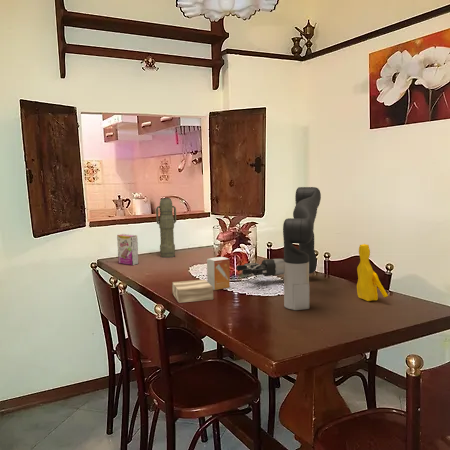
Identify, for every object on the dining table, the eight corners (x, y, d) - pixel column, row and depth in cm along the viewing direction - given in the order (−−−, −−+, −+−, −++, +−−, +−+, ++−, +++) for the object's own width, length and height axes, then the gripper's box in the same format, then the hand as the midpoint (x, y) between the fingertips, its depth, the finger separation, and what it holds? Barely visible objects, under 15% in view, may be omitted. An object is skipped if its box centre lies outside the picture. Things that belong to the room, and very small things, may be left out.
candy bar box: (117, 263, 258) (116, 234, 256) (124, 262, 263) (123, 233, 261) (132, 265, 252) (131, 236, 250) (138, 264, 257) (137, 234, 255)
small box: (214, 290, 198) (214, 260, 197) (207, 287, 203) (206, 258, 202) (230, 287, 203) (229, 258, 201) (222, 284, 208) (221, 256, 206)
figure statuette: (391, 304, 174) (393, 246, 171) (375, 306, 171) (376, 248, 168) (360, 292, 190) (361, 240, 188) (345, 295, 187) (345, 241, 185)
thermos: (179, 256, 276) (177, 198, 272) (161, 258, 271) (158, 199, 267) (174, 254, 284) (172, 197, 280) (156, 256, 279) (153, 198, 274)
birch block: (213, 299, 185) (213, 287, 184) (178, 302, 181) (178, 290, 180) (204, 290, 198) (204, 279, 197) (172, 293, 194) (172, 282, 194)
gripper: (267, 256, 216) (234, 258, 211) (279, 262, 202) (244, 264, 198) (267, 272, 217) (234, 274, 212) (279, 278, 203) (244, 282, 198)
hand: (239, 270), depth 205 cm, fingers open, 8 cm apart
